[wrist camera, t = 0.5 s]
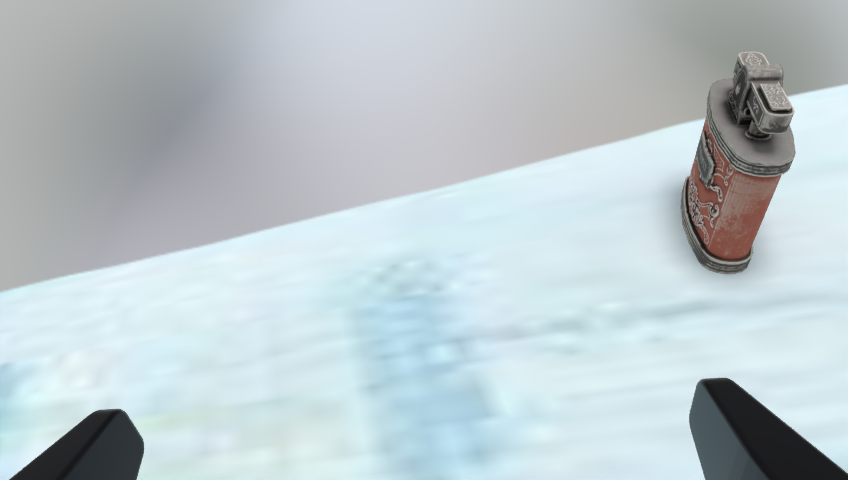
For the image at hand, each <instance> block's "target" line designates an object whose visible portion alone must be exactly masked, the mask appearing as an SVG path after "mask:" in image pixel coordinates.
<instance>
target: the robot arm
mask: <svg viewBox="0 0 848 480" xmlns="http://www.w3.org/2000/svg"><path fill="white" fill-rule="evenodd" d="M689 422H690V429H691V432H692V436H693V439H694V443H695V446H696V449H697V453H698V456H699V460H700V463H701V466H702V470H703V473H704V477H705V480H848V473H846V472H845V471H844V470H843V469H842V468H840V467H839V466H838V465H837V464H835V463H834V462H833V461H832V460H830V459H829V458H828V457H827V456H825V455H824V454H823V453H822V452H821V451H819V450H818V449H817V448H816V447H814V446H813V445H812V444H811V443H809V442H808V441H807V440H806V439H804V438H803V437H802V436H801V435H799V434H798V433H797V432H796V431H795V430H793V429H792V428H791V427H790V426H788V425H787V424H786V423H785V422H783V421H782V420H781V419H780V418H778V417H777V416H776V415H775V414H774V413H772V412H771V411H770V410H769V409H767V408H766V407H765V406H764V405H762V404H761V403H760V402H759V401H757V400H756V399H755V398H754V397H753V396H751V395H750V394H749V393H748V392H746V391H745V390H744V389H743V388H741V387H740V386H739V385H738V384H736V383H735V382H734V381H732V380H730V379H728V378H709V379H701V380H700V381H699V382H698V383H697V386H696V390H695V394H694V398H693V402H692V406H691V410H690V414H689ZM143 454H144V442H143V439H142V437H141V435H140V434H139V432H138V430H137V429H136V427H135V426H134V424H133V423H132V421H131V420H130V418H129V416H128V415H127V413H126V412H125V411H123V410H121V409H107V410H98V411H95V412H93V413H92V414H90V415H89V416H88V417H86V418H85V419H84V420H83V421H81V422H80V423H79V424H78V425H76V426H75V427H74V428H73V429H71V430H70V431H69V432H68V433H66V434H65V435H64V436H63V437H62V438H60V439H59V440H58V441H57V442H55V443H54V444H53V445H52V446H50V447H49V448H48V449H47V450H45V451H44V452H43V453H42V454H40V455H39V456H38V457H37V458H36V459H34V460H33V461H32V462H31V463H29V464H28V465H27V466H26V467H24V468H23V469H22V470H21V471H19V472H18V473H17V474H16V475H14V476H13V477H12V478H11V479H10V480H136V479H137V476H138V472H139V469H140V465H141V461H142V458H143Z"/></svg>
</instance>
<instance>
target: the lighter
mask: <svg viewBox="0 0 848 480" xmlns="http://www.w3.org/2000/svg"><path fill="white" fill-rule="evenodd" d="M782 86H783V68H782V66H781V65H780V64H776V65H775V64H769V63H768V61H767V60H766V58H765V56H764V55H763V54H761V53H758V52H743V53H740V54H739V56H738V59H737V62H736V66H735V69H734V78H733V79H723V80H719V81H716V82H715V83H713V84H712V85H711V87H710V91H709V95H708V99H707V116H706V120H705V123H704V127H703V131H702V134H701V137H700V141H699V144H698V148H697V152H696V156H695V159H694V163H693V167H692V170H691V174H690V176H688V177H687V178H686V180H685V183H684V187H683V190H682V198H681V214H682V223H683V226H684V229H685V232H686V235H687V238H688V241H689V244H690V245H691V247H692V249H693V251H694V253H695V255H696V257H697V259H698V261H699V262H700V263H701V264H702V266H704V267H706V268H707V269H709V270H711V271H714V272H717V273H723V274H735V273H739V272H742V271H743V270H745V269H746V268H747V266H748V264H749V261H750V259H751V257H752V254H753V241H754V239H755V237H756V234H757V232H758V230H759V227H760V225H761V222H762V220H763V218H764V215H765V213H766V211H767V208H768V206H769V203H770V201H771V199H772V196H773V194H774V192H775V189H776V187H777V184H778V182H779V180H780V177H781V175H782V174H784V173H786V172H787V171H788V170H789V168H790V166H791V164H792V161H793V159H794V156H795V145H794V138H793V133H792V131H791V128H790V125H789V124H790V122H791V119H792V117H793V114H794V109H793V107H792V105H791V103H790V101H789V100H788V98H787V96H786V94H785V92H784V90H783V89H782Z"/></svg>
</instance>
